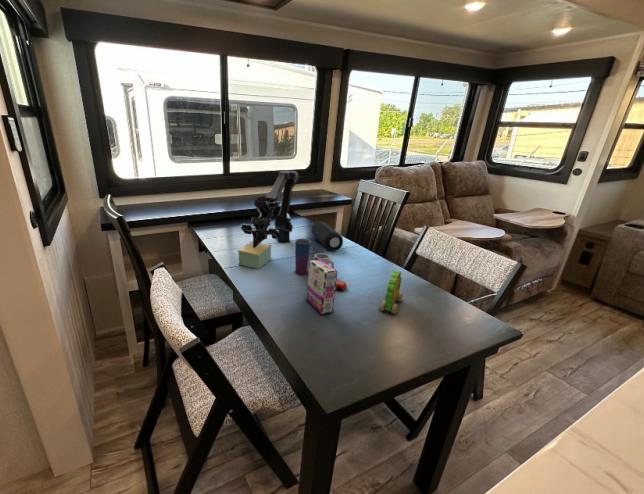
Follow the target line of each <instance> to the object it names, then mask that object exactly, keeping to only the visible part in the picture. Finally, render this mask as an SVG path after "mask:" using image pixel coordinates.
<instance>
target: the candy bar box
mask: <svg viewBox="0 0 644 494" xmlns="http://www.w3.org/2000/svg"><path fill="white" fill-rule="evenodd" d="M337 277H338V270H337V269H335V267H334V268H333V267H332V265H330V264H329V265H328V264H327V263H325V262H324V261H322V260H321V259H318V260H314V259H312V260H309V263H308V277H307V278H308V279H307V289H306V290H307V292H306V301H307V302H309V304H311V306H312V307H313V308H314V309H316V311H318V312H319V313H320V315H325V314H329V313H333V311H334V302H335V295H336V289H335V287H336V278H337ZM337 279H338V278H337Z"/></svg>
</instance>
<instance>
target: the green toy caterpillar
mask: <svg viewBox="0 0 644 494" xmlns="http://www.w3.org/2000/svg"><path fill="white" fill-rule="evenodd" d="M402 278H403V277H402V272H401V271H400V270H396V269H393V271H392V273H391V276H390V278H389V281H388V285H387V287H386V288H387V289H386V294H385V300H382V301H381V304H380V307H379V308H380V311H382V312H384V311H387V312H391V314H393V315H396V313H397V310H398V304H397V303H395V302H396V300H397V302H401V301H402V299H403V295H404V293H403V292H402V291H400V289H401V284H402Z"/></svg>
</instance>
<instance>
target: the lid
mask: <svg viewBox="0 0 644 494" xmlns="http://www.w3.org/2000/svg"><path fill="white" fill-rule="evenodd" d="M269 247H271V248H272V244H269V243H263V242H261V243H260V244H259V245H257V246H256V247H253V240H252V241H250V242H248V243H247V244H244V246H242V247H240V248H239V249H238V250H237V252H238V253H239V252H242V253H247V254H251V255H256V256H258V255H260V254H261V253H263V252H264V251H265V250H267V249H268V248H269Z"/></svg>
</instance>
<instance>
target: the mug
mask: <svg viewBox="0 0 644 494" xmlns="http://www.w3.org/2000/svg"><path fill="white" fill-rule="evenodd" d="M318 259H321V260H322V261H324V262H325V263H327V264H328V265H330V264H331V267H333V268H334V269H335V262H334V261H333V260H332V259H330V255H329V254H327V253H324V252H318V253H315V254H314V257H313V260H318Z"/></svg>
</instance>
